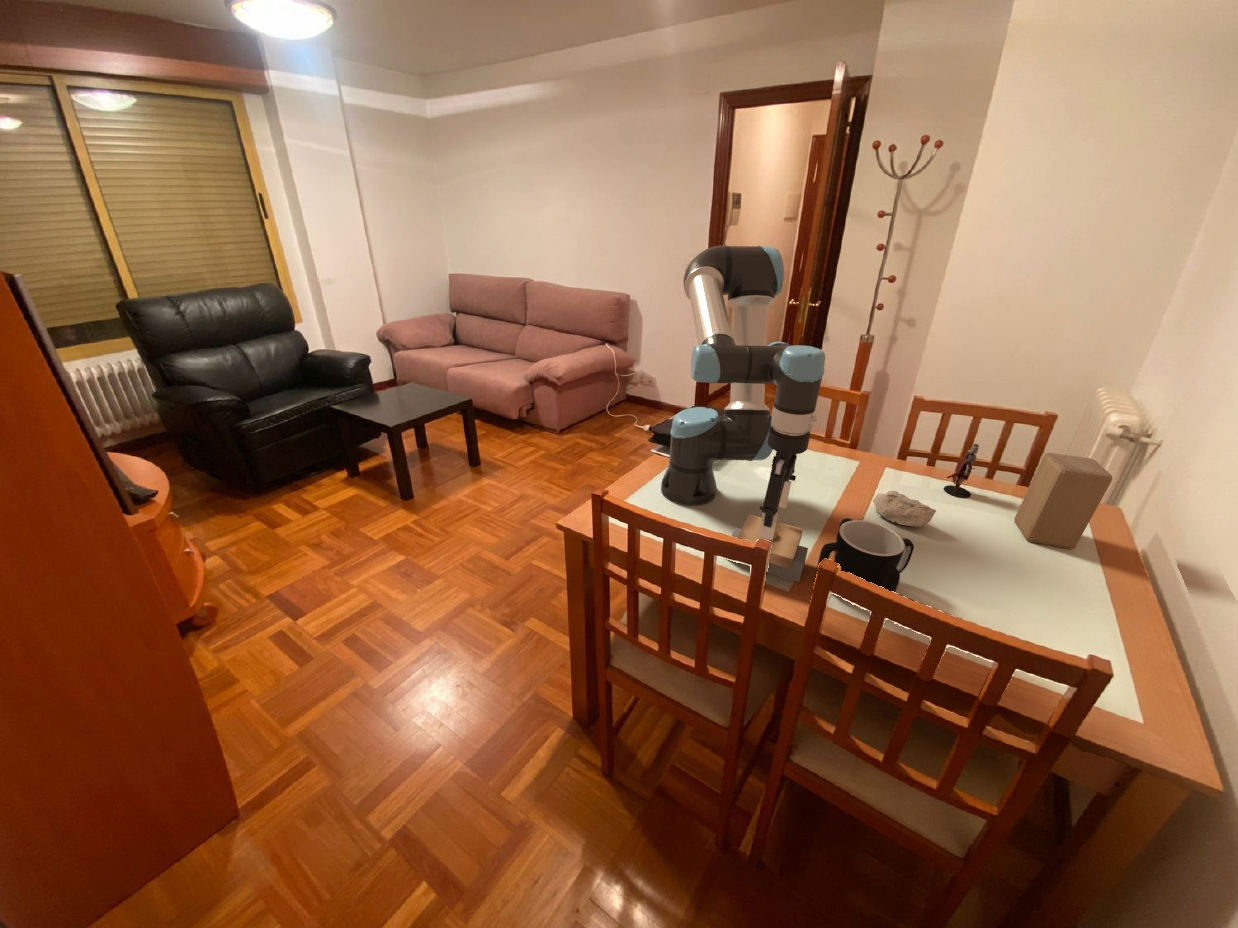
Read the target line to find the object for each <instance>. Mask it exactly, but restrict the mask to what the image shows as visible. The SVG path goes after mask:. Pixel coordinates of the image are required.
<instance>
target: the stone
mask: <svg viewBox="0 0 1238 928" xmlns="http://www.w3.org/2000/svg"><path fill="white" fill-rule="evenodd" d="M872 502H873V504H874V506H875V511H876V513H877V515H879V516H881V517H882V518H884V519H885V520H887V521H888V522H889V521H890V522H892V523H896V524H898V525H900V526H901V525H902V526H907V527H913V528H918V527H923V526H924V525H926V524H928V523H930V522H931V521H932V520H933V519H932V518H933V517H934V516H935V513H936V512H937V509H935V508H932V507H930V506H929V505H926V504H923V503H922V502H920V500H917V499H911V498H909V497H908V496H906V495H905V494H903V493H899V492H898V491H896V490H889V491H887V492H886V493H877V494H875V496H874V497H873V499H872Z"/></svg>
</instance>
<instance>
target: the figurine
mask: <svg viewBox="0 0 1238 928" xmlns="http://www.w3.org/2000/svg"><path fill="white" fill-rule="evenodd" d="M979 446H980V445H979V444H977V443H974V444H973V446H971V448H970V449H967V450H966V452H965V453H964V457H963V460H962V462H961V463H960V464H959V466H958V467H957V469H956V471H955V472H953V474H951V475H948V476H946V478H947V479H950V478H952V483H953V484H954V485H950V484H949V485H945V486H944V487H943V491H944V493H946V494H948V495H949V496H952V497H954V498H955V497H956V498H957V499H958V498H959V499H969V498H970V497H971V496H972V493H971V492H970V491H969V490H968V489H966V488H965V487H962V486H961V485H962V483H964V482H965V481H968V480H969V476H970V475H971V473H973V472H972V470H975V467H973V466H974V464H975V462H976V459H977V455H976V454H978V451H979Z"/></svg>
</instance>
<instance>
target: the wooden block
mask: <svg viewBox="0 0 1238 928" xmlns="http://www.w3.org/2000/svg"><path fill="white" fill-rule="evenodd" d="M1112 481H1113V475H1112V474H1110V472H1108V471H1107V470H1106V469H1105V468H1104V467H1103V466H1102V465H1101V464H1100V463H1099V462H1097V460H1095V459H1094V458H1092V457H1083V456H1076V455H1070V454H1069V455H1067V454H1061V453H1054V452H1046V453H1045V454H1044V455H1043V456H1042V458H1041V460H1040V463H1039V465H1038V467H1037V469H1036V471H1035V474H1034V476H1033V478H1032V479H1031V482H1030V484H1029V486H1028V489H1027V490H1026V493H1025V495H1024V497H1023V499H1022V501H1021V503H1020V506H1019V508H1018V510H1017V512H1016V514H1015V516H1014V524H1016V527H1017V528H1018V529H1019V531H1020V533H1021V534H1022V536H1023V537H1024V539H1025V541H1028V542H1032V543H1037V544H1042V545H1047V546H1054V547H1058V548H1065V549H1070V550H1071V549H1075V548H1076V547H1077V545H1078V543H1079V541H1080V539H1082V538H1081V537H1082V536H1083V534H1084V532H1085V530H1086V528H1087V526H1088V524H1089V523H1090V521H1091V520H1092V517H1093V516H1094V514H1095V512H1096V510H1097V508H1098V507H1099V505H1100V503H1101V501H1102V500H1103V498H1104V496H1105V494H1106V492H1107V490H1108V489H1109V487H1110V484H1111V483H1112Z"/></svg>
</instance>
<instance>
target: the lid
mask: <svg viewBox="0 0 1238 928" xmlns="http://www.w3.org/2000/svg"><path fill="white" fill-rule="evenodd" d="M761 521H762V516H757V515H753V514H748V517H747V519H746V520H745V522H744V524H743V525H742V527H741V529H742V530H741V531H740V533H739V535H738V537H737V538H739V539H747V540H750V541H752V542H755V541H756V540H757V539H766V538H762V537H759V533H760V527H761ZM803 532H804V528H802V527H797V526H795V525H794V526H793V525H789V524H787V523H783V522H779V521H776V526H775V531H774V537H773V540H769V539H766V540H769V541H771V543H772V548H771V554H770V559H769V562H770V563H773V564H776V565H780V566H783V567H786V568H789V569H791V567H792V564H793V561H794V558H795V555H796V552H797V549H798V546H800V542H801V539H802V536H803Z"/></svg>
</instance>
